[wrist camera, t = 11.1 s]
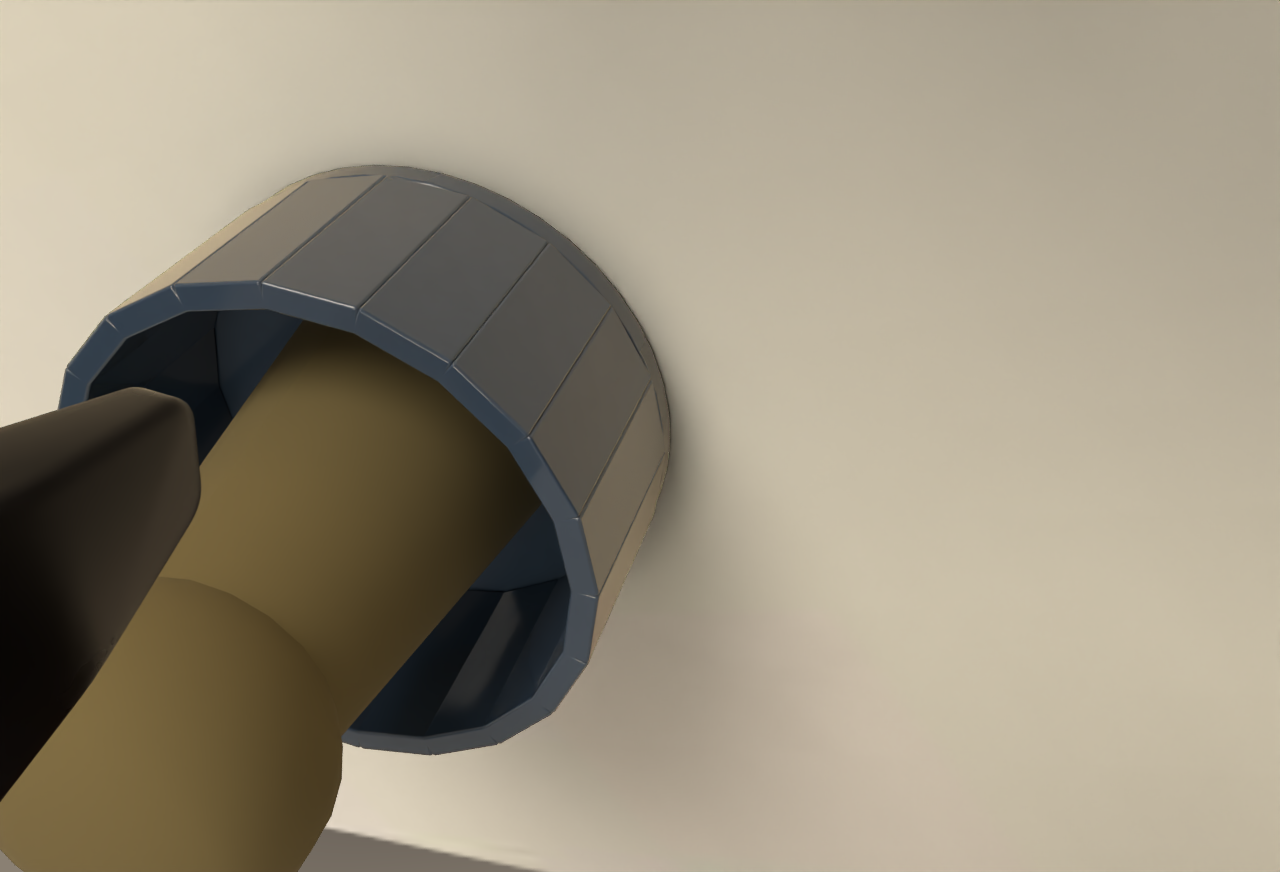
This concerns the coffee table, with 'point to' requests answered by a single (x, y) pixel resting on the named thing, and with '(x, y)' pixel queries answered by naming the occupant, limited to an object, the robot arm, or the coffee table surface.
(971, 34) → the coffee table surface
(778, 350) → the coffee table surface
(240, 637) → the brown cylinder with knob
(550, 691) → the blue-grey round bowl
